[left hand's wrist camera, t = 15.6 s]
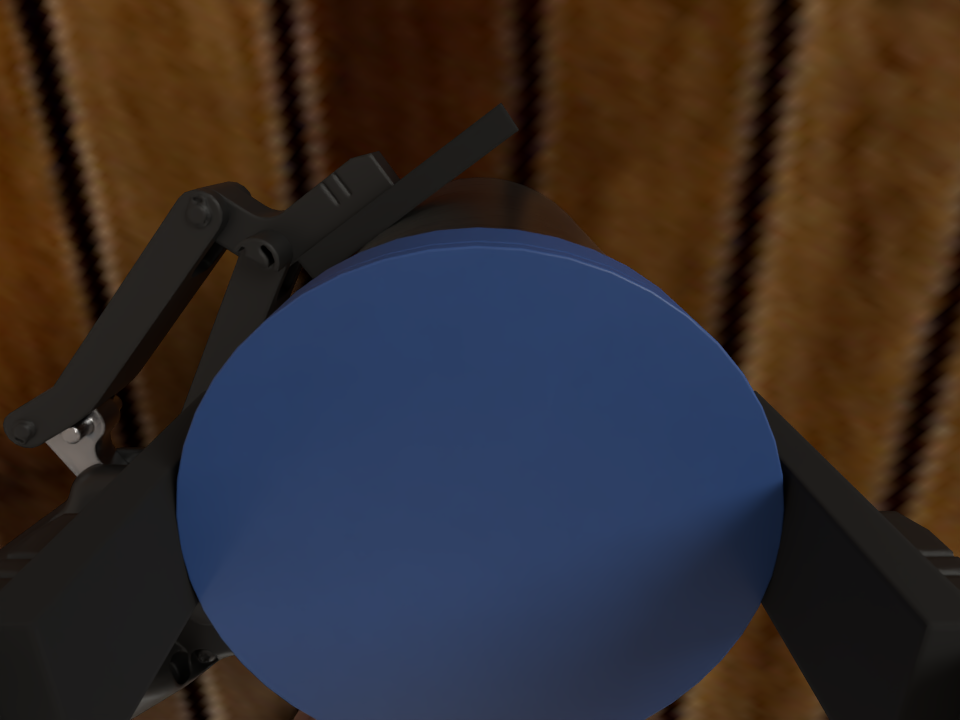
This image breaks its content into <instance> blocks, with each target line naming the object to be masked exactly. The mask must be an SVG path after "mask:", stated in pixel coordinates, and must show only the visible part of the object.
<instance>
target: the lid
mask: <svg viewBox="0 0 960 720" xmlns="http://www.w3.org/2000/svg"><path fill="white" fill-rule="evenodd" d="M783 518H784V492H783V474H782V469H781V465H780V460H779V455H778V450H777V446H776V441H775V438H774V435H773V433H772V430H771V428H770V425H769V422H768V420H767V417H766V415H765V412H764V409H763V407H762V405H761V403H760V401H759V400H758V398H757V396H756V394H755V393H754V391H753V389H752V388H751V386H750V384H749V382H748V381H747V379H746V377H745V375H744V374H743V372H742V371H741V370H740V369H739V367H738V366H737V365H736V364H735V362H734V361H733V360H732V359H731V358H730V356H729V355H728V354H727V353H726V351H725V350H724V349H723V348H722V346H721V345H720V344H719V343H718V342H717V341H716V340H715V339H714V338H713V337H712V336H711V335H710V334H709V333H708V332H707V331H705V330H704V329H703V328H702V327H701V326H700V325H699V324H698V323H697V322H696V321H695V320H694V319H693V318H692V317H690V316H689V315H688V314H687V313H686V312H685V311H684V310H683V309H682V308H681V307H680V306H679V305H677V304H676V303H675V302H674V301H673V300H672V299H671V298H670V297H669V296H668V295H667V294H665V293H664V292H663V291H662V290H661V289H660V288H659V287H657V286H656V285H654V284H653V283H651V282H650V281H649V280H647V279H646V278H644V277H643V276H641V275H640V274H638V273H637V272H635V271H634V270H632V269H631V268H629V267H628V266H626V265H624V264H622V263H620V262H618V261H616V260H614V259H612V258H610V257H608V256H606V255H604V254H602V253H600V252H598V251H596V250H593V249H590V248H587V247H584V246H581V245H578V244H575V243H572V242H569V241H566V240H563V239H560V238H557V237H553V236H548V235H543V234H537V233H532V232H527V231H522V230H514V229H497V228H479V227H476V228H462V229H449V230H437V231H432V232H427V233H422V234H418V235H413V236H408V237H404V238H399V239H396V240H393V241H390V242H387V243H384V244H382V245H379V246H376V247H373V248H370V249H368V250H365V251H362V252H360V253H358V254H356V255H354V256H352V257H350V258H348V259H346V260H344V261H342V262H341V263H339V264H337V265H335V266H333V267H331V268H329V269H327V270H326V271H324V272H323V273H321V274H320V275H319V276H317V277H316V278H314V279H313V280H312V281H310V282H309V283H307V284H306V285H305V286H303V287H302V288H300V289H299V290H298V291H296V292H295V293H294V294H293V295H292V296H291V297H290V298H289V299H288V300H287V301H285V302H284V303H283V304H282V305H281V306H280V307H279V308H278V309H277V310H276V311H275V312H274V313H273V314H271V315H270V316H269V317H268V318H267V319H266V320H265V321H264V322H263V323H262V324H261V325H260V326H259V327H258V328H257V329H256V330H255V331H254V332H253V333H251V334H250V335H249V336H248V337H247V338H246V339H245V340H244V341H243V342H242V343H241V344H240V345H239V346H238V347H237V348H236V349H235V351H234V352H233V353H232V355H231V356H230V357H229V359H228V360H227V361H226V363H225V364H224V365H223V366H222V368H221V369H220V370H219V372H218V373H217V374H216V376H215V377H214V378H213V380H212V382H211V384H210V385H209V387H208V389H207V391H206V393H205V395H204V396H203V398H202V400H201V402H200V404H199V406H198V407H197V409H196V411H195V414H194V416H193V419H192V422H191V425H190V428H189V431H188V433H187V436H186V439H185V442H184V445H183V449H182V455H181V460H180V466H179V471H178V476H177V493H176V519H177V527H178V534H179V540H180V545H181V550H182V555H183V559H184V563H185V566H186V570H187V573H188V576H189V580H190V582H191V584H192V587H193V589H194V591H195V593H196V595H197V598H198V600H199V602H200V604H201V606H202V609H203V611H204V612H205V614H206V615H207V617H208V619H209V620H210V622H211V623H212V625H213V626H214V628H215V630H216V631H217V633H218V634H219V636H220V638H221V639H222V640H223V641H224V642H225V644H226V645H227V646H228V647H229V648H230V650H231V651H232V652H233V653H234V655H235V656H236V657H237V658H238V659H239V661H240V662H241V663H242V664H243V665H244V666H245V667H246V668H247V669H248V670H249V671H251V672H252V673H253V674H254V675H255V676H256V677H257V678H258V679H259V680H260V681H261V682H262V683H263V684H264V685H265V686H267V687H268V688H269V689H271V690H272V691H273V692H275V693H276V694H277V695H279V696H280V697H281V698H283V699H284V700H285V701H287V702H288V703H289V704H291V705H292V706H294V707H295V708H297V709H299V710H301V711H302V712H304V713H306V714H307V715H309V716H311V717H312V718H314V719H316V720H645V719H647V718H648V717H650V716H651V715H653V714H655V713H656V712H658V711H660V710H661V709H663V708H665V707H666V706H668V705H670V704H671V703H673V702H674V701H675V700H677V699H678V698H679V697H680V696H682V695H683V694H684V693H686V692H687V691H688V690H690V689H691V688H692V687H693V686H695V685H696V684H697V683H699V682H700V681H701V680H702V679H703V678H704V677H705V676H706V675H707V674H708V673H709V672H710V671H711V670H712V669H713V668H714V667H715V666H716V665H717V664H718V663H719V662H720V661H721V660H722V659H723V658H724V656H725V655H726V654H727V653H728V651H729V650H730V649H731V648H732V646H733V645H734V644H735V643H736V641H737V640H738V639H739V638H740V636H741V635H742V634H743V632H744V630H745V629H746V627H747V625H748V624H749V622H750V621H751V619H752V617H753V616H754V614H755V612H756V611H757V609H758V607H759V605H760V603H761V601H762V598H763V596H764V594H765V591H766V589H767V587H768V584H769V582H770V580H771V578H772V575H773V571H774V567H775V563H776V559H777V554H778V550H779V545H780V540H781V534H782V528H783Z"/></svg>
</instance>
